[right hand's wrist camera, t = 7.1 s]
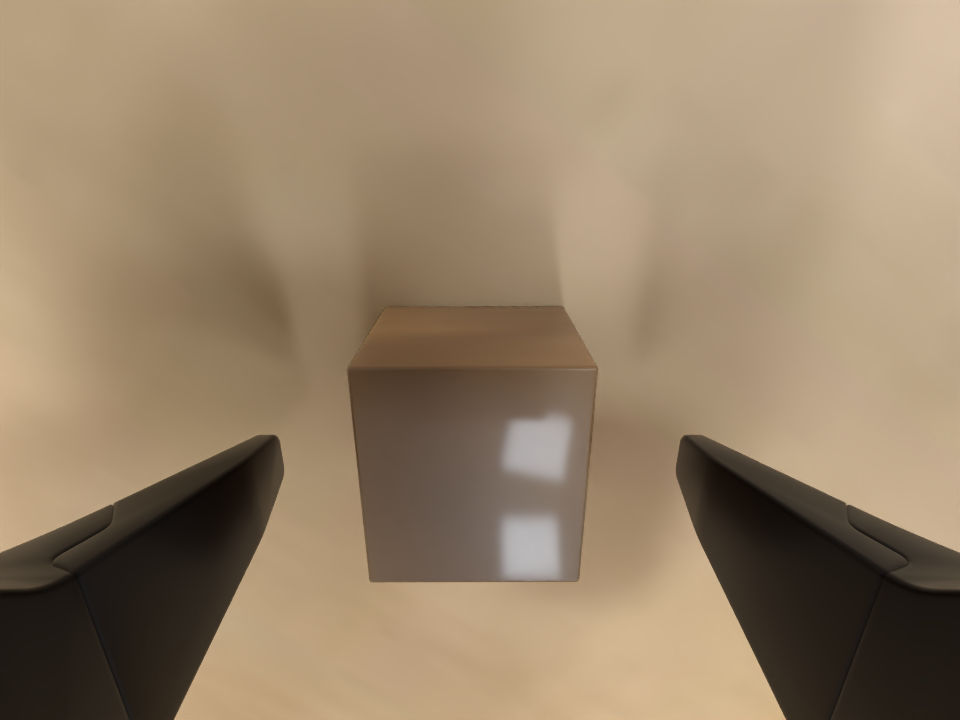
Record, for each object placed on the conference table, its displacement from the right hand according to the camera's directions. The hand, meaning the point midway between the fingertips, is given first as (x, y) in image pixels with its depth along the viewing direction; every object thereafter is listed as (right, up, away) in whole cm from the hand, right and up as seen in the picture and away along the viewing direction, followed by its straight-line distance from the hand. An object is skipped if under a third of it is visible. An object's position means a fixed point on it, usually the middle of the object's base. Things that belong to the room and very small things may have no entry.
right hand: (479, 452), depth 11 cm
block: (0, +1, +2) cm, 3 cm away
